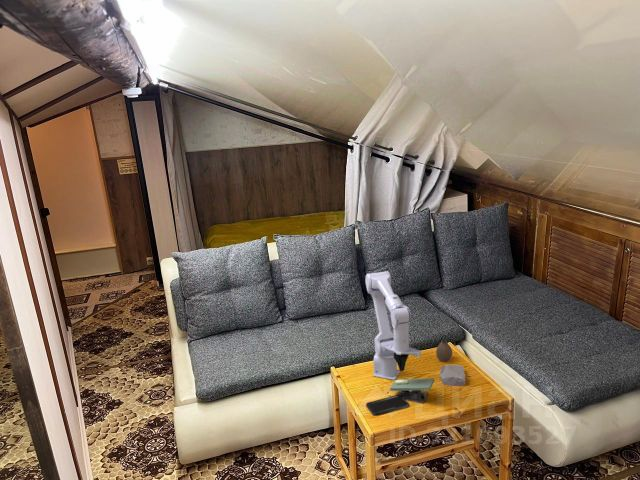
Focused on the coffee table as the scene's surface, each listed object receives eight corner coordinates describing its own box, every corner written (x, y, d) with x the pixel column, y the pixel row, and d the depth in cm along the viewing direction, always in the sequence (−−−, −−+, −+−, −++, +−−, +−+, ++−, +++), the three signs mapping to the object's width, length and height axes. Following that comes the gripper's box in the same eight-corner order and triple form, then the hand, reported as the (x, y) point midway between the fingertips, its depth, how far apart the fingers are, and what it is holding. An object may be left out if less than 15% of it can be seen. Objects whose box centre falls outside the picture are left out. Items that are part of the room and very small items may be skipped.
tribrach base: (397, 398, 178) (397, 390, 177) (402, 388, 184) (402, 381, 183) (423, 403, 174) (422, 396, 173) (427, 393, 180) (427, 386, 179)
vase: (435, 356, 208) (435, 338, 206) (450, 356, 207) (450, 338, 205) (437, 363, 201) (437, 345, 199) (453, 363, 200) (453, 345, 198)
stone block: (442, 389, 185) (467, 386, 183) (439, 379, 184) (465, 375, 182) (440, 375, 196) (464, 371, 194) (438, 365, 196) (462, 361, 193)
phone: (365, 403, 175) (400, 394, 180) (365, 405, 175) (400, 396, 180) (373, 414, 168) (410, 404, 172) (373, 417, 168) (410, 407, 172)
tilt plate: (391, 392, 179) (388, 384, 179) (396, 383, 185) (394, 375, 185) (430, 392, 171) (428, 383, 170) (435, 382, 177) (433, 374, 176)
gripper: (379, 339, 175) (380, 371, 178) (417, 345, 168) (417, 378, 171) (385, 331, 181) (386, 363, 184) (422, 337, 174) (422, 369, 177)
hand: (402, 370), depth 178 cm, fingers closed
